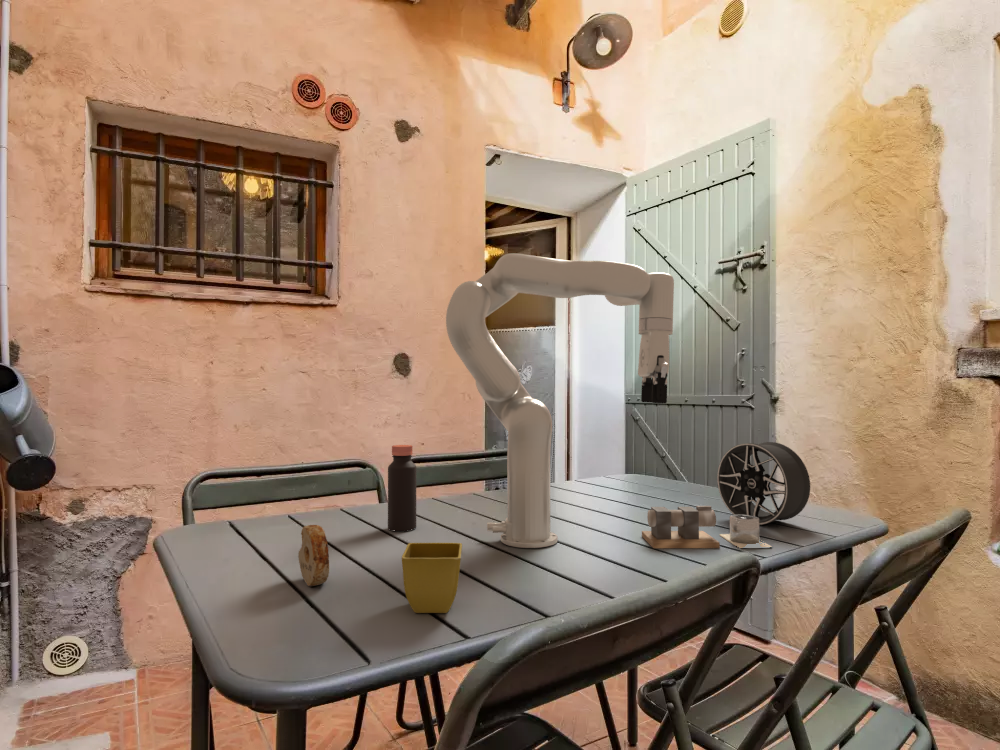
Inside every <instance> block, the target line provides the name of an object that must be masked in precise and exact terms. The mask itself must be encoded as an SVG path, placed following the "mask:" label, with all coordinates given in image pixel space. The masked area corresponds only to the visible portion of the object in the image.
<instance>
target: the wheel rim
mask: <svg viewBox="0 0 1000 750" xmlns="http://www.w3.org/2000/svg"><path fill="white" fill-rule="evenodd" d="M758 452H761V453H763V454H765V455H766V456H767V457H769V458H768V459H766V460H763V461H761V460H760V458H759V456H758ZM751 456H752V457H753V460H754V461H753V462H754V465H753V464H752V463H751ZM771 461H774V462H775V464H774V467H773V469H772V470H771V474H769V473H765V472H766V469H765V467H764V466H763V464H765V463H770V462H771ZM777 469H780V472H781V474H782V477H783V482H782V481H779V480H777V479H775V478H774V476H775V473H776V471H777ZM808 471H809V470H808V469H807V466H806V465H805V463H804V461H803V459H802V458H801V457H800V456H799V455H798V454H797V453H796V452H795V451H794V450H793V449H791V448H790V447H789V446H787V445H785V444H782V443H779V442H776V441H774V442H773V441H766V442H765V441H764V442H761V443H754V442H753V443H751V442H746V443H740V444H737V445H734V446H732V447H731V448H729V450H728V451H726V452H725V454H724V455H723V456H722V458H721V460H720V462H719V465H718V468H717V474H716V475H717V476H716V477H717V478H716V480H717V488H718V492H719V496H720V497H721V500H722V502H723V503H724V505H725V507H726V508H727V510H728V511H729V512H730V513H731V515H750V516H755V517H758V518H759V526H760V525H761V526H762V525H767V524H770V523H774V522H775V521H785V520H790V519H792V518H795V517H796V516H798V515H799V514H800V513H801V512H802V511H803V510H804V509H805V507H806V506H807V504H808V501H809V499H810V494H811V479H810V475H809V472H808ZM764 473H765V474H764ZM771 483H772V484H774V485H777V486H781V487H784V490H776V489H775V490H771V486H770V485H771ZM774 495H783V499H782V502H781V504H780V506H778V504H777V501H776V500H775V497H774ZM766 497H770V499H771V501H772V504H773V506H774V508H775V511H774V512H773V511H772V510H770V509H769V508H767V506H764V505H763V504H764V502H765V501H766ZM762 509H763V510H762Z"/></svg>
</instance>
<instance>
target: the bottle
mask: <svg viewBox="0 0 1000 750" xmlns="http://www.w3.org/2000/svg"><path fill="white" fill-rule="evenodd" d="M391 455H392V456H391V457H392V458H393V459H392V462H391V463H390V464H389V465H388V467H387V529H388V530H389V529H390V530H389V531H391V530H395V531H394V532H396V531H404V532H408V531H407V530H411V529H414V528H415V529H417V466H416V464H415V463H414V462H413V461H412V457H413V445H412V444H395V445H392V446H391ZM415 529H414V530H415ZM411 531H412V530H411Z"/></svg>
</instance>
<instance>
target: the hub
mask: <svg viewBox="0 0 1000 750" xmlns="http://www.w3.org/2000/svg"><path fill="white" fill-rule="evenodd" d="M729 534H730V540H731V541H733V542H737V543H742V544H756V543H759V540H760V525H759V518H758V517H755V516H750V515H733V514H731V515H730V516H729Z"/></svg>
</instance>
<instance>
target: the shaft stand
mask: <svg viewBox="0 0 1000 750" xmlns="http://www.w3.org/2000/svg"><path fill="white" fill-rule="evenodd" d="M695 507H696V508H694V507H692V506H677V509H668V508H666V507H665V506H650V509H648V511H647V523H648V526H649V527H650V530H642V531H641V537H642V538H643V539H644V540H645V541H646V542H647V544H649V545H650V546H651V547H652V548H653V549H720V547H721V545H720V543H721V542H720V541H718V540H717V539H715V538H714V537H712V536H711V535H710V534H708V533H707V532H705V531H704V530H700V527H706V528H709V527H713V528H714V527H715V526H716V525H717V515H716V513H715V510H713V509H712V506H711V505H696V506H695ZM672 527H673V528H675V527H676V528H677V530H672Z"/></svg>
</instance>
